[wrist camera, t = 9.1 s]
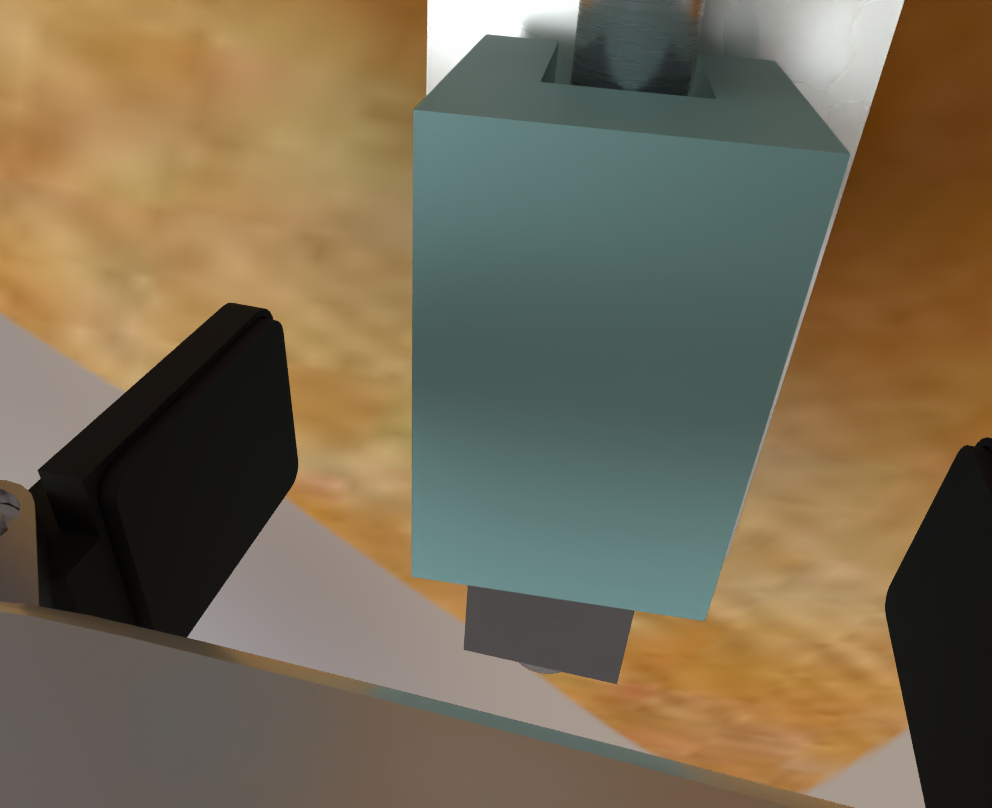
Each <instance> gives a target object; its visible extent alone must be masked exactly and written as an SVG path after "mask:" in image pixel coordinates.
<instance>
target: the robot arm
mask: <svg viewBox="0 0 992 808" xmlns="http://www.w3.org/2000/svg"><path fill="white" fill-rule="evenodd" d="M297 471H298V456H297V448H296V439H295V430H294V421H293V412H292V403H291V395H290V386H289V377H288V368H287V359H286V350H285V342H284V333H283V328H282V325H281V323H280V322H278V321H275V320H273V317H272V315H271V313H270V311H268V310H267V309H264V308H258V307H253V306H247V305H241V304H236V303H227V304H226V305H224V306H223V307H222V308H220V309H219V310H218V311H217V312H216V313H215V314H214V315H212V316H211V317H210V318H209V319H208V320H207V321H206V322H205V323H203V324H202V325H201V326H200V327H199V328H198V329H197V330H196V331H194V332H193V333H192V334H191V335H190V336H189V337H188V338H186V339H185V340H184V341H183V342H182V343H181V344H180V345H179V346H177V347H176V348H175V349H174V350H173V351H172V352H171V353H170V354H168V355H167V356H166V357H165V358H164V359H163V360H162V361H160V362H159V363H158V364H157V365H156V366H155V367H154V368H153V369H151V370H150V371H149V372H148V373H147V374H146V375H145V376H144V377H142V378H141V379H140V380H139V381H138V382H137V383H136V384H134V385H133V386H132V387H131V388H130V389H129V390H128V391H127V392H125V393H124V394H123V395H122V396H121V397H120V398H119V399H118V400H116V401H115V402H114V403H113V404H112V405H111V406H110V407H109V408H107V409H106V410H105V411H104V412H103V413H102V414H101V415H99V416H98V417H97V418H96V419H95V420H94V421H93V422H92V423H90V424H89V425H88V426H87V427H86V428H85V429H84V430H82V432H80V433H79V434H78V435H77V436H76V437H75V438H73V439H72V440H71V441H70V442H69V443H68V444H67V445H66V446H64V447H63V448H62V449H61V450H60V451H59V452H58V453H56V454H55V455H54V456H53V457H52V458H51V459H50V460H49V461H48V462H46V463H45V464H44V465H43V466H42V467H41V468H40V469H39V470H38V472H39V475H40V477H41V479H40V480H39V481H38V482H37V483H35V484H34V485H33V486H32V487H31V488H30V489H29V490H27V489H25V488H24V487H23V486H22V485H19V484H16V483H13V482H10V481H7V480H0V808H853V807H850V806H846V805H842V804H838V803H835V802H831V801H826V800H823V799H819V798H815V797H811V796H808V795H804V794H800V793H796V792H792V791H788V790H785V789H781V788H777V787H773V786H769V785H765V784H762V783H758V782H754V781H750V780H746V779H742V778H738V777H735V776H731V775H727V774H723V773H719V772H715V771H712V770H708V769H704V768H700V767H696V766H692V765H688V764H685V763H681V762H677V761H673V760H669V759H665V758H662V757H658V756H654V755H650V754H646V753H642V752H638V751H635V750H630V749H627V748H623V747H619V746H615V745H611V744H607V743H603V742H599V741H595V740H592V739H588V738H584V737H580V736H576V735H572V734H568V733H564V732H560V731H556V730H553V729H549V728H545V727H541V726H537V725H533V724H528V723H525V722H521V721H517V720H513V719H509V718H506V717H501V716H498V715H494V714H490V713H486V712H482V711H478V710H473V709H470V708H466V707H462V706H458V705H454V704H450V703H446V702H442V701H438V700H435V699H431V698H426V697H422V696H418V695H415V694H411V693H407V692H403V691H399V690H395V689H391V688H387V687H383V686H379V685H375V684H371V683H367V682H363V681H359V680H355V679H351V678H347V677H343V676H339V675H335V674H331V673H327V672H323V671H319V670H315V669H311V668H307V667H303V666H298V665H294V664H291V663H287V662H283V661H279V660H275V659H271V658H267V657H263V656H259V655H254V654H251V653H246V652H243V651H239V650H235V649H231V648H226V647H222V646H218V645H214V644H210V643H206V642H202V641H198V640H194V639H190V638H187V636H188V635H189V634H190V632H191V631H192V629H193V628H194V626H195V625H196V624H197V622H198V621H199V619H200V618H201V616H202V615H203V613H204V612H205V611H206V609H207V608H208V606H209V605H210V603H211V602H212V600H213V599H214V598H215V596H216V595H217V593H218V592H219V590H220V589H221V588H222V586H223V584H224V583H225V582H226V580H227V579H228V578H229V576H230V575H231V573H232V572H233V570H234V569H235V567H236V566H237V565H238V563H239V562H240V560H241V559H242V557H243V556H244V554H245V553H246V551H247V550H248V549H249V547H250V546H251V544H252V543H253V542H254V540H255V539H256V537H257V536H258V534H259V533H260V532H261V530H262V529H263V527H264V526H265V524H266V523H267V522H268V520H269V518H270V517H271V516H272V514H273V513H274V511H275V510H276V508H277V507H278V505H279V504H280V503H281V501H282V500H283V499H284V497H285V496H286V494H287V493H288V491H289V490H290V488H291V487H292V485H293V483H294V481H295V479H296V475H297ZM885 612H886V619H887V623H888V628H889V633H890V638H891V643H892V648H893V652H894V657H895V662H896V667H897V672H898V676H899V681H900V686H901V691H902V696H903V701H904V705H905V710H906V715H907V720H908V725H909V730H910V734H911V739H912V744H913V749H914V754H915V758H916V763H917V768H918V773H919V778H920V783H921V787H922V792H923V796H924V802H925V807H926V808H992V438H988V437H987V438H983V439H981V440H980V441H979V442H978V443H977V444H976V446H975V447H974V446H968V445H967V446H964V447H962V448H961V449H960V451H959V452H958V454H957V455H956V457H955V459H954V461H953V463H952V465H951V467H950V469H949V471H948V473H947V475H946V477H945V479H944V481H943V483H942V485H941V487H940V489H939V491H938V493H937V494H936V496H935V498H934V500H933V502H932V504H931V506H930V508H929V510H928V512H927V514H926V516H925V518H924V520H923V522H922V524H921V526H920V528H919V530H918V531H917V533H916V535H915V537H914V539H913V541H912V543H911V545H910V547H909V549H908V551H907V553H906V555H905V557H904V559H903V561H902V563H901V565H900V567H899V568H898V570H897V572H896V574H895V576H894V578H893V580H892V582H891V584H890V586H889V589H888V592H887V596H886V602H885Z"/></svg>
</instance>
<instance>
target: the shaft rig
mask: <svg viewBox="0 0 992 808" xmlns="http://www.w3.org/2000/svg"><path fill="white" fill-rule="evenodd" d="M903 3H904V0H428V22H427V91H426V96H427V95H428V94H429V93H430V92H431V91H432V90H433V89H434V88H435V87H436V85H437V84H438V83H439V82H440V81H441V80H442V79H443V78H444V77H445V76H446V75H447V74H448V73H449V72H450V71H451V70H452V69H453V68H454V67H455V66H456V65H457V64H458V63H459V62H460V60H461V59H462V58H463V57H464V56H465V55H466V54H467V53H468V52H469V51H470V50H471V49H472V48H473V47H474V46H475V45H476V44H477V43H478V42H479V41H480V40H481V39H482V38H483V36H484V35H485V34H491V35H502V36H513V37H524V38H534V39H545V40H556V41H559V46H558V56H557V66H556V76H555V84H566V85H576V86H586V87H596V88H607V89H617V90H627V91H638V92H648V93H658V94H668V95H679V96H689V97H690V96H691V91H692V85H693V80H694V75H695V70H696V65H697V59H698V54H707V55H718V56H728V57H739V58H750V59H761V60H772V61H776V63H777V64H778V65H779V66H780V68H781V69H782V70H783V71H784V72H785V74H786V75H787V76H788V77H789V79H790V80H791V81H792V82H793V84H794V85H795V86H796V87H797V89H798V90H799V91H800V92H801V93H802V95H803V96H804V97H805V98H806V100H807V101H808V102H809V103H810V105H811V106H812V107H813V108H814V109H815V111H816V112H817V113H818V114H819V116H820V117H821V118H822V119H823V121H824V122H825V123H826V124H827V126H828V127H829V128H830V129H831V130H832V132H833V133H834V134H835V135H836V137H837V138H838V139H839V140H840V142H841V143H842V144H843V145H844V146H845V148H846V149H847V150H848V151H849V153H850V154H851V155H850V158H849V162H848V165H847V168H846V171H845V174H844V178H843V181H842V184H841V187H840V190H839V194H838V197H837V200H836V203H835V206H834V210H833V213H832V216H831V219H830V222H829V226H828V229H827V232H826V235H825V238H824V242H823V245H822V248H821V251H820V254H819V258H818V261H817V264H816V267H815V270H814V274H813V277H812V280H811V283H810V286H809V290H808V293H807V296H806V299H805V302H804V306H803V309H802V312H801V315H800V318H799V322H798V325H797V328H796V331H795V334H794V338H793V341H792V344H791V347H790V350H789V354H788V357H787V360H786V363H785V366H784V370H783V373H782V376H781V379H780V382H779V386H778V389H777V392H776V395H775V398H774V402H773V405H772V408H771V411H770V414H769V418H768V421H767V424H766V427H765V430H764V434H763V437H762V440H761V443H760V446H759V450H758V453H757V456H756V459H755V462H754V466H753V469H752V472H751V475H750V478H749V482H748V485H747V488H746V491H745V494H744V498H743V501H742V504H741V507H740V510H739V514H738V517H737V520H736V523H735V526H734V530H733V533H732V536H731V539H730V542H729V546H728V549H727V552H726V555H725V557H727V556H728V553H729V550H730V547H731V544H732V541H733V538H734V534H735V531H736V528H737V525H738V522H739V519H740V516H741V512H742V509H743V506H744V503H745V500H746V497H747V494H748V490H749V487H750V484H751V481H752V478H753V475H754V472H755V468H756V465H757V462H758V459H759V456H760V453H761V449H762V446H763V443H764V440H765V437H766V434H767V431H768V427H769V424H770V421H771V418H772V415H773V412H774V409H775V405H776V402H777V399H778V396H779V393H780V390H781V387H782V383H783V380H784V377H785V374H786V371H787V368H788V365H789V361H790V358H791V355H792V352H793V349H794V346H795V343H796V339H797V336H798V333H799V330H800V327H801V324H802V321H803V317H804V314H805V311H806V308H807V305H808V302H809V299H810V295H811V292H812V289H813V286H814V283H815V280H816V277H817V273H818V270H819V267H820V264H821V261H822V258H823V255H824V251H825V248H826V245H827V242H828V239H829V236H830V233H831V229H832V226H833V223H834V220H835V217H836V214H837V211H838V207H839V204H840V201H841V198H842V195H843V192H844V188H845V185H846V182H847V179H848V176H849V173H850V170H851V166H852V163H853V160H854V157H855V154H856V151H857V148H858V144H859V141H860V138H861V135H862V132H863V129H864V126H865V122H866V119H867V116H868V113H869V110H870V107H871V104H872V100H873V97H874V94H875V91H876V88H877V85H878V82H879V78H880V75H881V72H882V69H883V66H884V63H885V60H886V56H887V53H888V50H889V47H890V44H891V41H892V38H893V34H894V31H895V28H896V25H897V22H898V19H899V16H900V12H901V9H902V6H903ZM633 615H634V610H628V609H621V608H615V607H608V606H602V605H595V604H588V603H582V602H575V601H569V600H562V599H555V598H549V597H542V596H536V595H529V594H522V593H516V592H509V591H503V590H496V589H489V588H483V587H476V586H470V585H468V591H467V607H466V623H465V638H464V650H468V651H472V652H476V653H481V654H485V655H490V656H495V657H499V658H503V659H508V660H512V661H516V662H519V663H520V664H521V665H523V666H524V667H526V668H527V669H529V670H532V671H534V672H538V673H543V674H554V673H559V672H565V673H570V674H574V675H579V676H583V677H587V678H592V679H596V680H601V681H605V682H610V683H614V684H617V681H618V677H619V673H620V669H621V665H622V661H623V656H624V652H625V648H626V644H627V640H628V635H629V631H630V627H631V623H632V619H633Z"/></svg>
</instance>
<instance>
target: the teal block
mask: <svg viewBox="0 0 992 808" xmlns="http://www.w3.org/2000/svg"><path fill="white" fill-rule="evenodd" d="M558 46H559V41H556V40H545V39H534V38H524V37H513V36H502V35H491V34H485V35H484V36H483V38H482V39H481V40H480V41H479V42H478V43H477V44H476V45H475V46H474V47H473V48H472V49H471V50H470V51H469V52H468V53H467V54H466V55H465V56H464V57H463V58H462V59H461V60H460V62H459V63H458V64H457V65H456V66H455V67H454V68H453V69H452V70H451V71H450V72H449V73H448V74H447V75H446V76H445V77H444V78H443V79H442V80H441V81H440V82H439V83H438V84H437V85H436V87H435V88H434V89H433V90H432V91H431V92H430V93H429V94H428V95H427V96H426V97H425V98H424V99H423V100H422V101H421V102H420V103H419V104H418V105H417V106H416V107H415V108H414V109H413V308H412V577H417V578H424V579H430V580H437V581H443V582H450V583H456V584H463V585H470V586H476V587H483V588H489V589H496V590H503V591H509V592H516V593H522V594H529V595H536V596H542V597H549V598H555V599H562V600H569V601H575V602H582V603H588V604H595V605H602V606H608V607H615V608H621V609H628V610H634V611H641V612H648V613H654V614H661V615H667V616H674V617H681V618H687V619H694V620H700V621H705V619H706V616H707V613H708V610H709V606H710V603H711V600H712V597H713V594H714V590H715V587H716V584H717V581H718V578H719V574H720V571H721V568H722V565H723V562H724V558H725V555H726V552H727V549H728V546H729V542H730V539H731V536H732V533H733V530H734V526H735V523H736V520H737V517H738V514H739V510H740V507H741V504H742V501H743V498H744V494H745V491H746V488H747V485H748V482H749V478H750V475H751V472H752V469H753V466H754V462H755V459H756V456H757V453H758V450H759V446H760V443H761V440H762V437H763V434H764V430H765V427H766V424H767V421H768V418H769V414H770V411H771V408H772V405H773V402H774V398H775V395H776V392H777V389H778V386H779V382H780V379H781V376H782V373H783V370H784V366H785V363H786V360H787V357H788V354H789V350H790V347H791V344H792V341H793V338H794V334H795V331H796V328H797V325H798V322H799V318H800V315H801V312H802V309H803V306H804V302H805V299H806V296H807V293H808V290H809V286H810V283H811V280H812V277H813V274H814V270H815V267H816V264H817V261H818V258H819V254H820V251H821V248H822V245H823V242H824V238H825V235H826V232H827V229H828V226H829V222H830V219H831V216H832V213H833V210H834V206H835V203H836V200H837V197H838V194H839V190H840V187H841V184H842V181H843V178H844V174H845V171H846V168H847V165H848V162H849V158H850V155H851V154H850V153H849V151H848V150H847V149H846V148H845V146H844V145H843V144H842V143H841V142H840V140H839V139H838V138H837V137H836V135H835V134H834V133H833V132H832V130H831V129H830V128H829V127H828V126H827V124H826V123H825V122H824V121H823V119H822V118H821V117H820V116H819V114H818V113H817V112H816V111H815V109H814V108H813V107H812V106H811V105H810V103H809V102H808V101H807V100H806V98H805V97H804V96H803V95H802V93H801V92H800V91H799V90H798V89H797V87H796V86H795V85H794V84H793V82H792V81H791V80H790V79H789V77H788V76H787V75H786V74H785V72H784V71H783V70H782V69H781V68H780V66H779V65H778V64H777V63H776V61H772V60H761V59H750V58H739V57H728V56H718V55H707V54H698V59H697V65H696V70H695V75H694V80H693V85H692V91H691V96H690V97H689V96H679V95H668V94H658V93H648V92H638V91H627V90H617V89H607V88H596V87H586V86H576V85H566V84H555V76H556V66H557V56H558Z"/></svg>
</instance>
